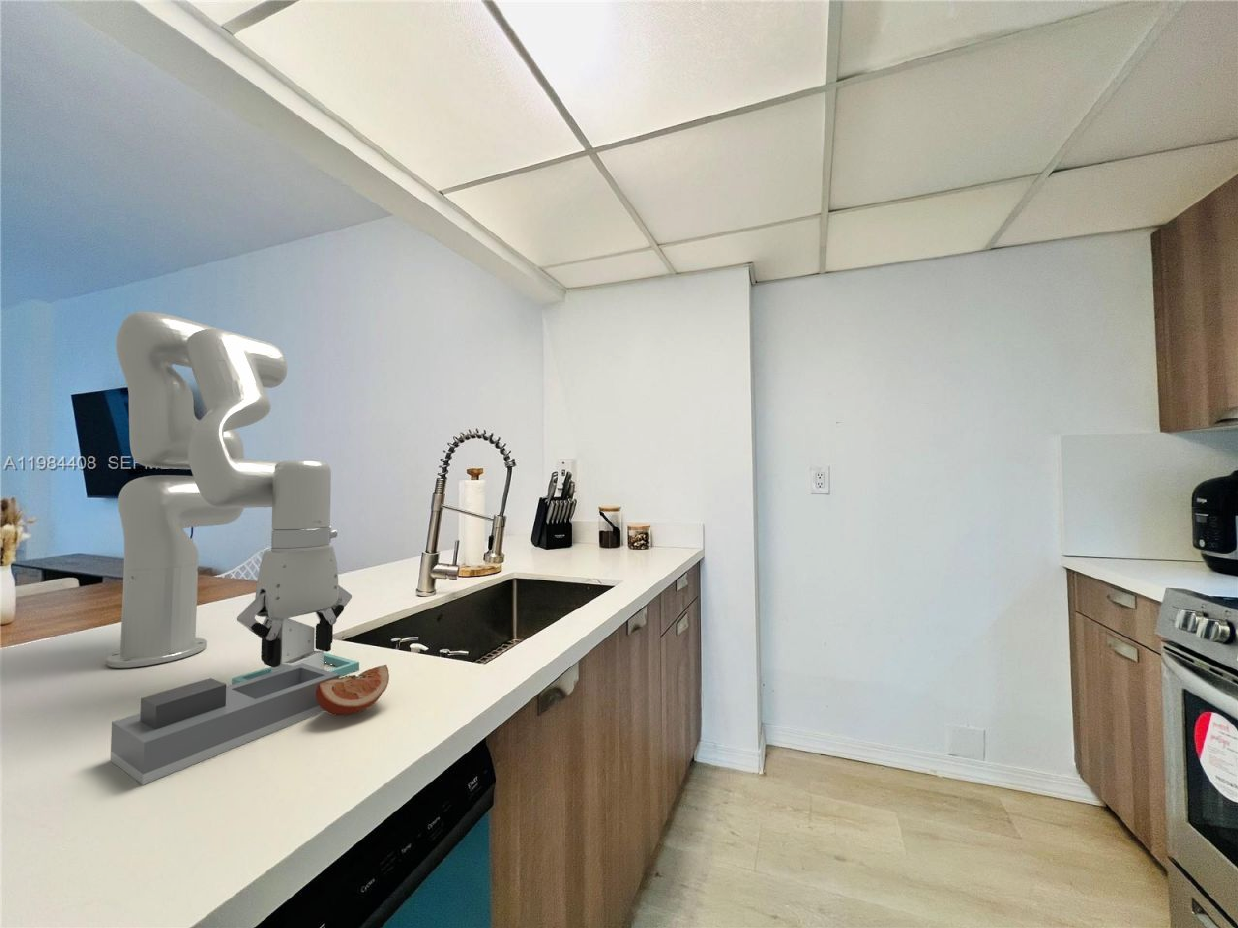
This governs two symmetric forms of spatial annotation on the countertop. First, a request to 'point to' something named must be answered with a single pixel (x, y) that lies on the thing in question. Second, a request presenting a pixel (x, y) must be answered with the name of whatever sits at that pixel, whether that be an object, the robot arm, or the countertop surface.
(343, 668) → the tray frame
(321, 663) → the white angled block
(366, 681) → the fruit slice
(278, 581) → the robot arm
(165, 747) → the grey slotted holder
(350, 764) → the countertop surface
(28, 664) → the countertop surface
